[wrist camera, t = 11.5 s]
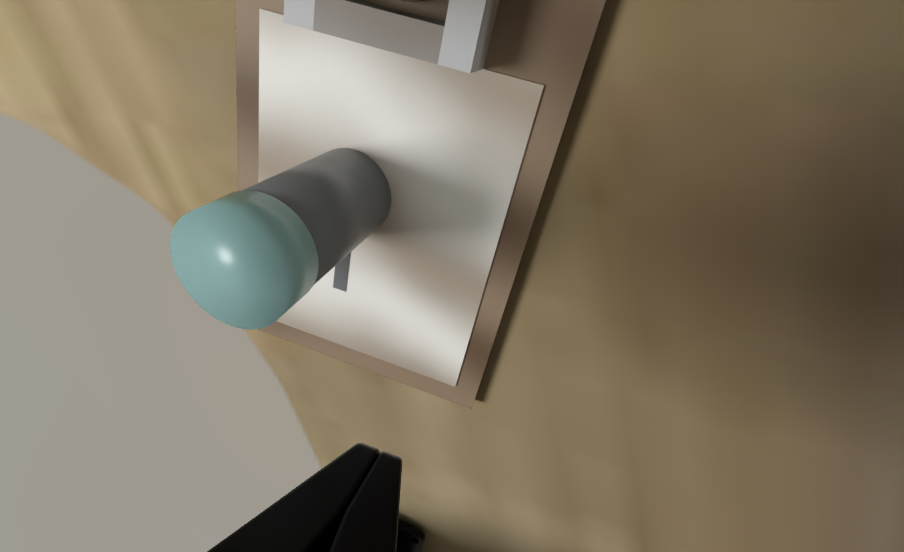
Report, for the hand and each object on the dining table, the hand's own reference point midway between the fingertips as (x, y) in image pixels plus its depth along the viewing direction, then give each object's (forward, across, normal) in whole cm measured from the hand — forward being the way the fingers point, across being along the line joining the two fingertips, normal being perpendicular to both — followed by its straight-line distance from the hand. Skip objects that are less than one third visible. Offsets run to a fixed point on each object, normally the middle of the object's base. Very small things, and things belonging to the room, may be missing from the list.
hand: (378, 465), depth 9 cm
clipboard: (+11, +5, -2) cm, 13 cm away
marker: (+11, +6, 0) cm, 12 cm away
